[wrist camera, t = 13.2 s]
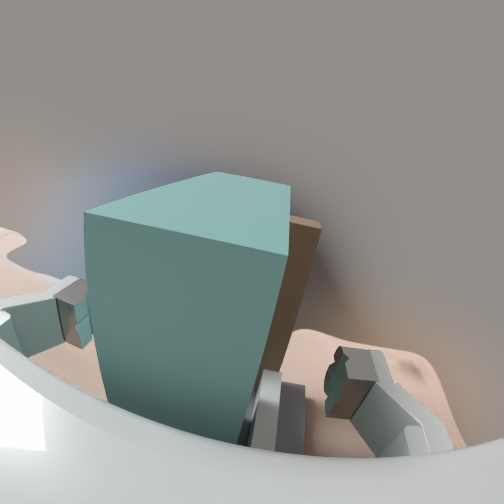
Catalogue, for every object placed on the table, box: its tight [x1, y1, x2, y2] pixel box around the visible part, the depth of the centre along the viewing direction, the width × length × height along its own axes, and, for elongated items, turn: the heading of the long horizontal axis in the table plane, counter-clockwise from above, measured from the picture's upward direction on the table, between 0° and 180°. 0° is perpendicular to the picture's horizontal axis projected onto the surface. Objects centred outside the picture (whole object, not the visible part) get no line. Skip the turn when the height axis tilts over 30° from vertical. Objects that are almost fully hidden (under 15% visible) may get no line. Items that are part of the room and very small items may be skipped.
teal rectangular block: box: [84, 172, 290, 444], centre depth 10 cm, size 3×8×14 cm, turn 172°
